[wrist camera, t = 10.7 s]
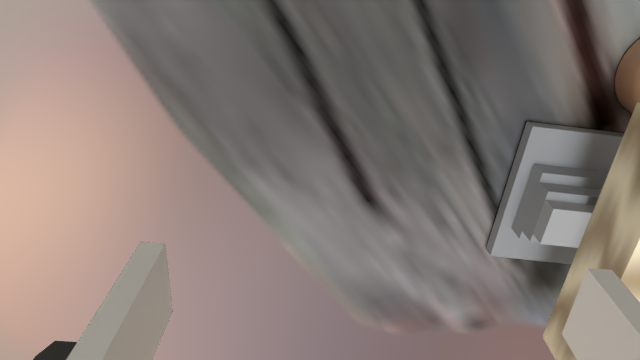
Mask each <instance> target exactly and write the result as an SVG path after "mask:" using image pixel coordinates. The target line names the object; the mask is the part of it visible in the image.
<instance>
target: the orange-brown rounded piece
mask: <svg viewBox="0 0 640 360" xmlns="http://www.w3.org/2000/svg"><path fill="white" fill-rule="evenodd" d="M615 91H616V95H617V98H618V100H619V102H620V103H621V105H622V106H623V107H624V108H625V109H626V110H628V111H629V112H631V113H633V111H634V109H635V106H636V104H637V103H640V39H638V40H637V41H636V42H635V43H634V44H633V45H632V46H631V47H630V48H629V49H628V51H627V52H626V53H625V55H624V56H623V58H622V60H621V62H620V64H619V66H618V69H617V72H616V77H615Z"/></svg>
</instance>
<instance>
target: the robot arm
mask: <svg viewBox="0 0 640 360" xmlns="http://www.w3.org/2000/svg"><path fill="white" fill-rule="evenodd" d="M172 312H173V309H172V299H171V290H170V281H169V272H168V263H167V254H166V245H165V243H149V242H140V244H139V245H138V247H137V248H136V250H135V252H134V253H133V255H132V256H131V258H130V260H129V261H128V263H127V264H126V266H125V267H124V269H123V271H122V272H121V274H120V275H119V277H118V279H117V280H116V282H115V283H114V285H113V286H112V288H111V290H110V291H109V293H108V295H107V296H106V297H105V299H104V301H103V302H102V304H101V306H100V307H99V309H98V310H97V312H96V313H95V315H94V317H93V318H92V320H91V321H90V323H89V324H88V326H87V328H86V329H85V331H84V332H83V334H82V336H81V337H80V339H79V340H78V342H65V341H54V342H53V343H52V344H50V345H49V346H48V347H47V348H45V349H44V350H43V351H42V352H40V353H39V354H38V355H37V356H35V358H34V359H33V360H152V359H153V357H154V355H155V352H156V350H157V348H158V345H159V343H160V340H161V338H162V336H163V334H164V331H165V329H166V326H167V324H168V322H169V319H170V317H171V315H172ZM562 335H563V337H564V339H565V340H566V342H567V344H568V346H569V347H570V349H571V351H572V352H573V354H574V356H575V357H576V359H577V360H640V302H639V301H638V300H637V299H636V297H635V296H634V295H633V294H632V293H631V292H630V290H629V289H628V288H627V287H626V286H625V285H624V283H623V282H622V281H621V280H620V279H619V278H618V276H617V275H616V274H615V273H614V272H613V271H612V270H608V269H591V268H587V270H586V273H585V276H584V278H583V281H582V283H581V286H580V288H579V291H578V293H577V296H576V299H575V301H574V304H573V306H572V309H571V311H570V314H569V316H568V319H567V322H566V324H565V327H564V329H563V332H562Z"/></svg>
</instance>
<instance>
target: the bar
mask: <svg viewBox="0 0 640 360" xmlns="http://www.w3.org/2000/svg"><path fill="white" fill-rule="evenodd" d="M587 268H591V269H608V270H612V271H613V272H614V273H615V274H616V275H617V276H618V278H619V279H620V280H621V281H622V282H623V283H624V285H625V286H626V287H627V288H628V289H629V290H630V292H631V293H632V294H633V295H634V296H635V297H636V299H637V300H638V301H639V302H640V103H637V104H636V106H635V109H634V111H633V114H632V116H631V119H630V121H629V124H628V126H627V128H626V131H625V133H624V136H623V138H622V141H621V143H620V146H619V148H618V151H617V153H616V156H615V158H614V161H613V163H612V166H611V168H610V171H609V173H608V176H607V178H606V181H605V183H604V185H603V188H602V190H601V193H600V195H599V198H598V200H597V203H596V205H595V208H594V210H593V213H592V215H591V218H590V220H589V223H588V225H587V228H586V230H585V233H584V235H583V238H582V240H581V242H580V245H579V247H578V250H577V252H576V255H575V257H574V260H573V262H572V265H571V267H570V270H569V272H568V275H567V277H566V280H565V282H564V285H563V287H562V290H561V292H560V295H559V297H558V299H557V302H556V304H555V307H554V309H553V312H552V314H551V317H550V319H549V322H548V324H547V327H546V329H545V332H544V334H543V338H544V340H545V342H546V343H547V345H548V347H549V349H550V350H551V352H552V354H553V356H554V358H555V359H556V360H577V359H576V357H575V356H574V354H573V352H572V351H571V349H570V347H569V346H568V344H567V342H566V340H565V339H564V337H563V335H562V332H563V329H564V327H565V324H566V322H567V319H568V316H569V314H570V311H571V309H572V306H573V304H574V301H575V299H576V296H577V293H578V291H579V288H580V286H581V283H582V281H583V278H584V276H585V273H586V270H587Z"/></svg>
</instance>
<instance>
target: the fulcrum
mask: <svg viewBox="0 0 640 360" xmlns="http://www.w3.org/2000/svg"><path fill="white" fill-rule="evenodd" d="M623 136H624V133H618V132H610V131H601V130H593V129H585V128H577V127H568V126H560V125H552V124H543V123H535V122H526V125H525V129H524V132H523V135H522V138H521V141H520V144H519V147H518V150H517V153H516V157H515V160H514V163H513V166H512V169H511V172H510V175H509V178H508V181H507V185H506V188H505V191H504V194H503V197H502V200H501V203H500V206H499V209H498V213H497V216H496V219H495V222H494V225H493V228H492V231H491V234H490V237H489V241H488V244H487V247H486V249H487V251H488V252H489V254H490V256H498V257H507V258H516V259H526V260H535V261H544V262H553V263H563V264H572V262H573V260H574V257H575V255H576V252H577V250H578V247H579V245H580V242H581V240H582V238H583V235H584V233H585V230H586V228H587V225H588V223H589V220H590V218H591V215H592V213H593V210H594V208H595V205H596V203H597V200H598V198H599V195H600V193H601V190H602V188H603V185H604V183H605V181H606V178H607V176H608V173H609V171H610V168H611V166H612V163H613V161H614V158H615V156H616V153H617V151H618V148H619V146H620V143H621V141H622V138H623Z"/></svg>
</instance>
